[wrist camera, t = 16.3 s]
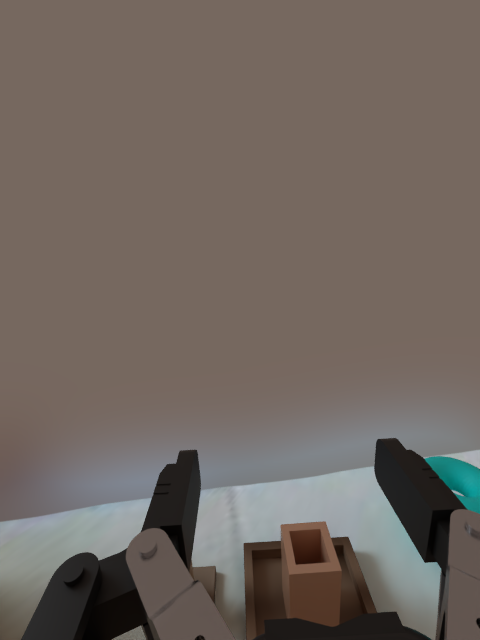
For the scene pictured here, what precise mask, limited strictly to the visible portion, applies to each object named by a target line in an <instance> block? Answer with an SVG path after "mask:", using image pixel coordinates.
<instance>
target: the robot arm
mask: <svg viewBox="0 0 480 640" xmlns="http://www.w3.org/2000/svg"><path fill="white" fill-rule="evenodd" d="M374 469H375V476H376V479H377V482H378V484H379V485H380V487H381V489H382V491H383V492H384V494H385V496H386V497H387V499H388V501H389V502H390V504H391V506H392V508H393V509H394V511H395V513H396V514H397V516H398V518H399V519H400V521H401V523H402V525H403V526H404V528H405V530H406V531H407V533H408V535H409V537H410V538H411V540H412V542H413V543H414V545H415V547H416V548H417V550H418V552H419V554H420V555H421V557H422V559H423V560H424V562H425V563H427V562H437V563H438V564H439V566H440V567H441V575H440V589H439V603H438V617H437V630H436V639H435V640H480V514H479V513H476V512H474V511H470V510H468V509H467V508H466V507H465V506H464V505H463V503H462V502H461V501H460V500H459V499H458V498H457V497H456V495H455V494H454V493H453V492H452V491H451V490H450V488H449V487H448V486H447V485H446V484H445V483H444V481H443V480H442V479H440V478H439V476H438V474H437V473H436V472H435V471H434V470H432V467H431V466H430V465H429V464H428V463H427V462H426V460H425V459H424V458H423V457H421V456H420V455H418V454H416V453H415V452H414V451H412V450H406V449H405V448H404V447H403V445H402V444H401V443H400V442H399V441H398V439H396V438H389V439H378V440H377V442H376V454H375V466H374ZM200 487H201V480H200V470H199V461H198V453H197V450H185V451H180V452H179V455H178V459H177V463H176V464H167V465H166V467H165V468H164V469H163V470H162V472H161V473H160V475H159V478H158V481H157V484H156V487H155V490H154V495H153V497H152V500H151V503H150V506H149V509H148V512H147V515H146V518H145V521H144V525H143V528H142V530H141V533H139V534H138V535H137V536H136V537H135V538H134V539H133V540H132V541H131V543H130V544H129V546H128V548H127V549H125V550H124V551H122V552H120V553H118V554H115V555H112V556H110V557H107V558H105V559H102V560H99V561H98V558H97V557H96V556H95V555H94V554H92V553H88V552H87V553H80V554H77V555H75V556H73V557H71V558H69V559H68V560H66V561H65V562H64V563H63V564H62V565H61V566H60V567H59V568H58V569H57V570H56V572H55V573H54V574H53V576H52V578H51V580H50V582H49V584H48V586H47V588H46V590H45V592H44V594H43V596H42V598H41V600H40V602H39V604H38V607H37V609H36V611H35V613H34V615H33V617H32V619H31V621H30V623H29V625H28V627H27V629H26V631H25V633H24V635H23V637H22V639H21V640H111V639H113V638H115V637H117V636H119V635H121V634H124V633H126V632H128V631H130V630H132V629H134V628H136V627H138V626H140V625H141V626H142V629H143V632H144V635H145V637H146V640H235V638H234V636H233V635H232V633H231V631H230V630H229V628H228V626H227V625H226V623H225V621H224V620H223V618H222V616H221V615H220V613H219V611H218V610H217V608H216V606H215V604H214V603H213V601H212V599H211V598H210V596H209V594H208V593H207V591H206V589H205V588H204V586H203V585H202V583H201V582H200V581H199V580H196V581H194V580H193V578H192V577H191V575H190V573H189V572H190V565H191V557H192V550H193V543H194V535H195V528H196V521H197V513H198V506H199V499H200V490H201V488H200ZM264 629H265V633H263V634H261V635H259V636H257V637H255V638H254V639H252V640H431V639H430V638H428V637H427V636H425V635H423V634H422V633H420V632H418V631H416V630H413V629H411V628H408V627H405V626H402V624H401V621H400V619H399V617H398V614H397V612H383V613H367V614H362V615H360V616H358V617H355V618H353V619H351V620H349V621H346V622H344V623H342V624H340V625H337V626H334V627H330V626H326V625H322V624H318V623H314V622H311V621H307V620H303V619H299V618H286V619H269V620H264Z"/></svg>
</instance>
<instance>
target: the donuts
mask: <svg viewBox="0 0 480 640" xmlns="http://www.w3.org/2000/svg"><path fill="white" fill-rule="evenodd" d="M425 460H426V462H427V463H428V464H429V465H430V466H431V467H432V470H434V471H435V472H436V473H437V474H438V476H439V478H440V479H442V480H443V481H444V483H445V484H446V485H447V486H448V487H449V488H450V490H454V491H457V492H459V493H461V494H463V495H464V496H465V497H464V496H460V495H457V494H455V493H454V494H455V495H456V497H457V498H458V499H459V500H460V501H461V502H462V503H463V505H464V506H465V507H466V508H467V509H468V510H470V511H474V512H476V513H479V514H480V469H478V468H477V467H475V466H473V465H471V464H469V463H466V462H464V461H461V460H458V459H454V458H449V457H441V456H437V457H429V458H426V459H425Z"/></svg>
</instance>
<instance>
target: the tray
mask: <svg viewBox="0 0 480 640" xmlns="http://www.w3.org/2000/svg"><path fill="white" fill-rule="evenodd" d="M331 540H332V543H333V546H334V549H335V552H336V555H337V558H338V561H339V564H340V567H341V570H342V576H341V597H340V619H339V625H340V624H342V623H344V622H346V621H349V620H351V619H353V618H355V617H358V616H360V615H362V614H367V613H377V611H376V608H375V606H374V603H373V601H372V598H371V595H370V593H369V590H368V587H367V585H366V582H365V580H364V577H363V574H362V572H361V569H360V566H359V564H358V561H357V559H356V556H355V553H354V551H353V548H352V545H351V543H350V540H349V538H348V537H337V538H331ZM244 569H245V604H246V638H247V640H252V639H254V638H255V637H257V636H259V635H261V634H263V633H265V629H264V620H269V619H286V618H287V617H286V610H285V604H284V597H283V590H282V557H281V541H272V542H256V543H244Z"/></svg>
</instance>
